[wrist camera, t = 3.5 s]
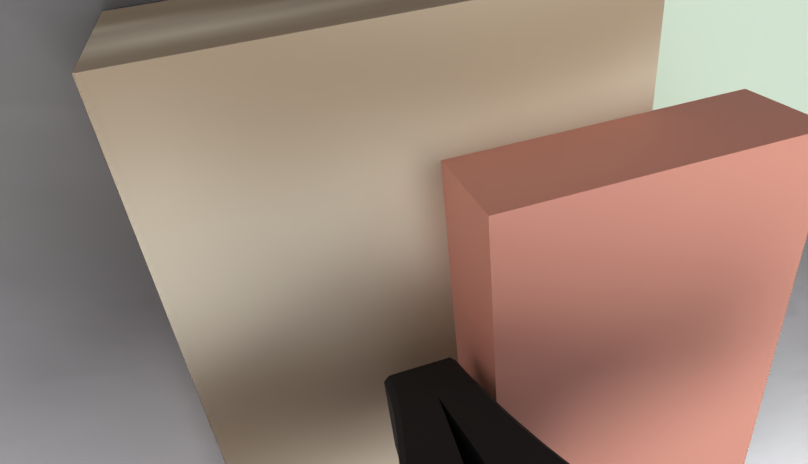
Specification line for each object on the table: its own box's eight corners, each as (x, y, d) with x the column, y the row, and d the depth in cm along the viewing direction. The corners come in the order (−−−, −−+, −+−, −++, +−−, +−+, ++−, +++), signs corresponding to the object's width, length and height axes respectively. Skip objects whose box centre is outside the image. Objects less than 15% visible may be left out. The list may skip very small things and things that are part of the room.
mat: (765, 309, 22) (772, 314, 22) (569, 370, 21) (574, 376, 20) (863, -72, 16) (875, -71, 15) (589, -21, 14) (596, -19, 14)
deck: (541, 401, 21) (608, 503, 18) (268, 487, 19) (286, 619, 16) (548, -64, 13) (668, -37, 10) (101, 11, 12) (72, 73, 8)
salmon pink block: (683, 419, 17) (739, 482, 15) (469, 493, 15) (503, 569, 14) (744, 89, 12) (836, 126, 10) (441, 160, 11) (488, 216, 9)
